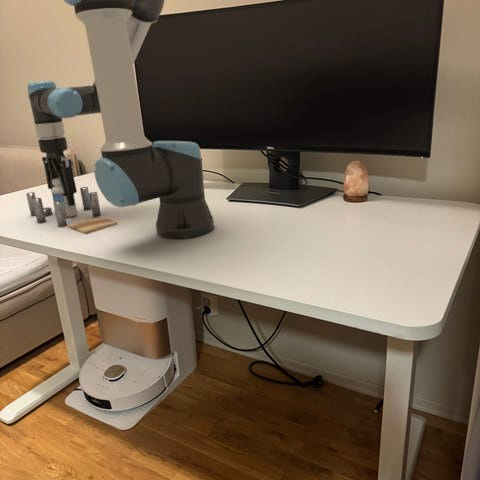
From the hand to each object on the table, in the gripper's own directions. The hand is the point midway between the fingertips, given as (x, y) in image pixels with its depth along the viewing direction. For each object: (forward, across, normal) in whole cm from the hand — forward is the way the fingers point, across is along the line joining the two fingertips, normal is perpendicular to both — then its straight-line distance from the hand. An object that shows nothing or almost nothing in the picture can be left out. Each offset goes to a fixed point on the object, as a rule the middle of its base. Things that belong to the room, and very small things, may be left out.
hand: (66, 213), depth 143 cm
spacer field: (0, 0, 0) cm, 0 cm away
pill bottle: (+1, 0, 0) cm, 1 cm away
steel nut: (+1, +6, +4) cm, 7 cm away
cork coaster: (0, -17, +1) cm, 17 cm away
